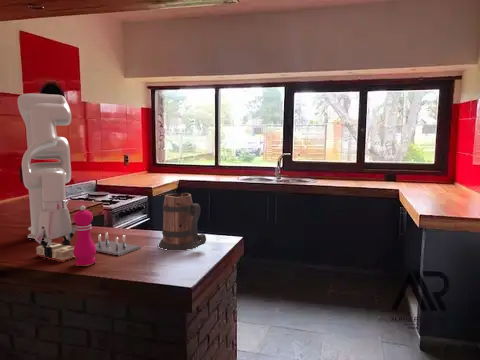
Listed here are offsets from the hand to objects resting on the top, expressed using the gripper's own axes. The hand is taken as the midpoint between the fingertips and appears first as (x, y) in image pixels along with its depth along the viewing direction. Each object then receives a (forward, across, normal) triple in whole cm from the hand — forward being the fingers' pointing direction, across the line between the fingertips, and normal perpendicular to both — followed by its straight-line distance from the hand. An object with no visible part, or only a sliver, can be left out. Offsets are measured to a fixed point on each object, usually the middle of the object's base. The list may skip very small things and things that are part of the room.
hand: (57, 254), depth 142 cm
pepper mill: (+1, +1, +15) cm, 15 cm away
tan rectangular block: (+1, 0, 0) cm, 1 cm away
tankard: (+1, -32, +32) cm, 45 cm away
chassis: (+1, -16, +10) cm, 19 cm away
